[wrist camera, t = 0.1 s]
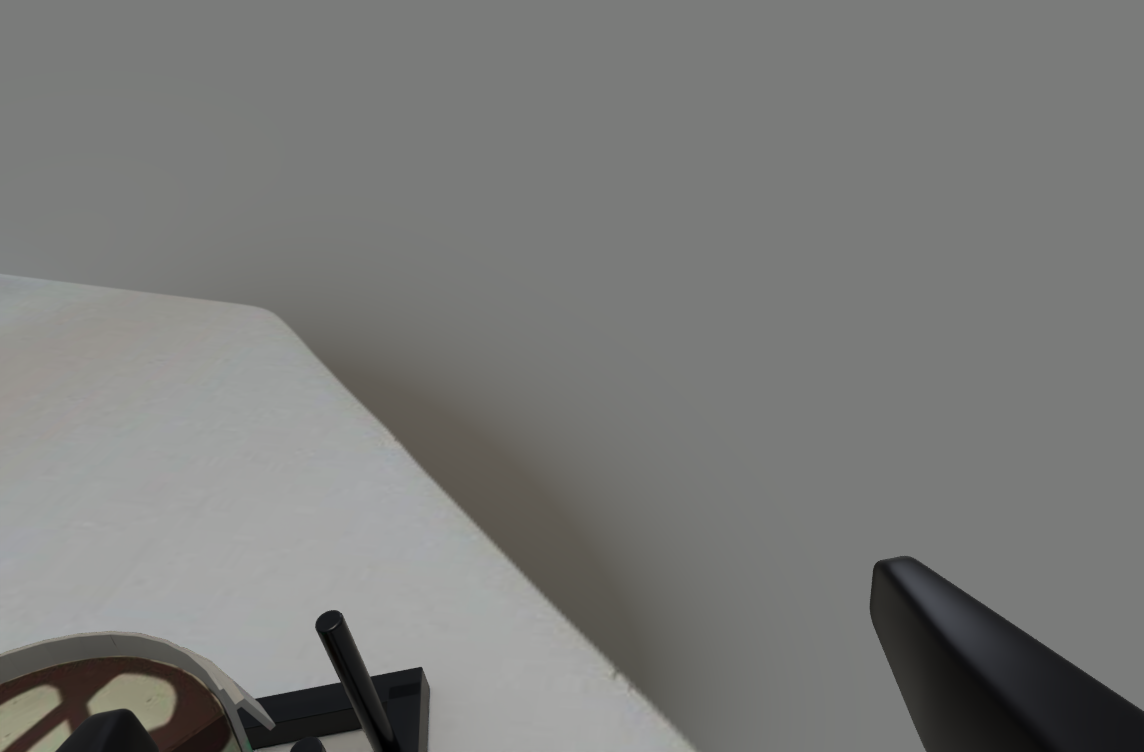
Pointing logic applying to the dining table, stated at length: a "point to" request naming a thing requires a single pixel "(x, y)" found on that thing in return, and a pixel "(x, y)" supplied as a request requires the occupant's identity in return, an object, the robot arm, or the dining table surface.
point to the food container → (120, 693)
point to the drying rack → (347, 702)
